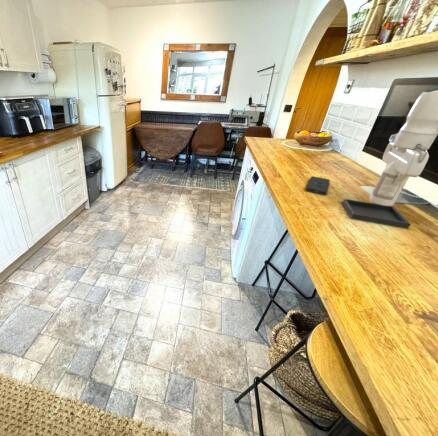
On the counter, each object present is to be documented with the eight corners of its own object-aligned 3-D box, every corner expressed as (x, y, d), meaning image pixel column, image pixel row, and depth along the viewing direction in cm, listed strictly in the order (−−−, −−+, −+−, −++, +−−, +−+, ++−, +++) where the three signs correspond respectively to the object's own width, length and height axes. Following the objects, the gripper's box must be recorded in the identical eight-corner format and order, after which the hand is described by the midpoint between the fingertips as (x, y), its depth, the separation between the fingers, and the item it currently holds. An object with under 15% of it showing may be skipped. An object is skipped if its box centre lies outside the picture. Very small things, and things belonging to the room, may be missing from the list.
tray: (391, 210, 96) (393, 206, 95) (407, 228, 84) (411, 223, 83) (341, 202, 101) (343, 198, 100) (351, 218, 90) (353, 213, 89)
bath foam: (378, 197, 93) (405, 145, 84) (398, 205, 88) (429, 150, 78) (364, 199, 92) (390, 147, 82) (383, 207, 86) (413, 151, 76)
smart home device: (306, 187, 111) (311, 175, 125) (305, 190, 112) (310, 178, 126) (327, 191, 107) (330, 179, 121) (326, 195, 108) (328, 182, 122)
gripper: (443, 149, 69) (416, 193, 76) (411, 136, 86) (390, 173, 93) (415, 147, 72) (391, 189, 79) (388, 135, 88) (370, 171, 95)
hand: (390, 180), depth 86 cm, fingers closed on bath foam, 7 cm apart
